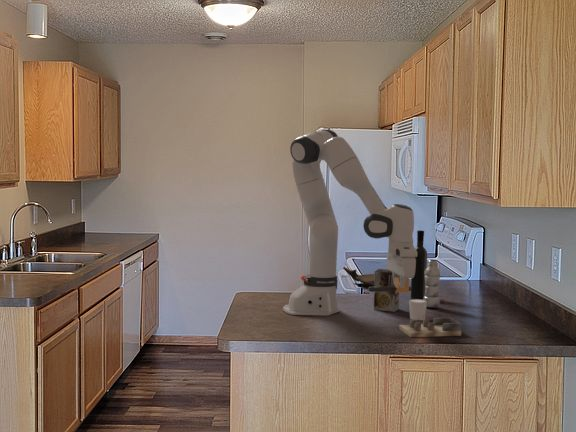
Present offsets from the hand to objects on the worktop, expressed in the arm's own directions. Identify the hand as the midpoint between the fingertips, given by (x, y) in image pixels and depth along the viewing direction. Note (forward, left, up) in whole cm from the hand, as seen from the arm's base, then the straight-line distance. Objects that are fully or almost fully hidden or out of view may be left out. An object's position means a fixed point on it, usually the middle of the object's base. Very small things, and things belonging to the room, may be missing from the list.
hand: (398, 286), depth 248 cm
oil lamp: (+17, +76, -15) cm, 80 cm away
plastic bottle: (+25, +27, -15) cm, 40 cm away
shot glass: (+12, +10, -15) cm, 22 cm away
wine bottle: (+27, +46, -15) cm, 55 cm away
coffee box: (+5, +26, -15) cm, 31 cm away
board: (+8, -10, -15) cm, 20 cm away
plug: (-4, 0, -2) cm, 5 cm away
